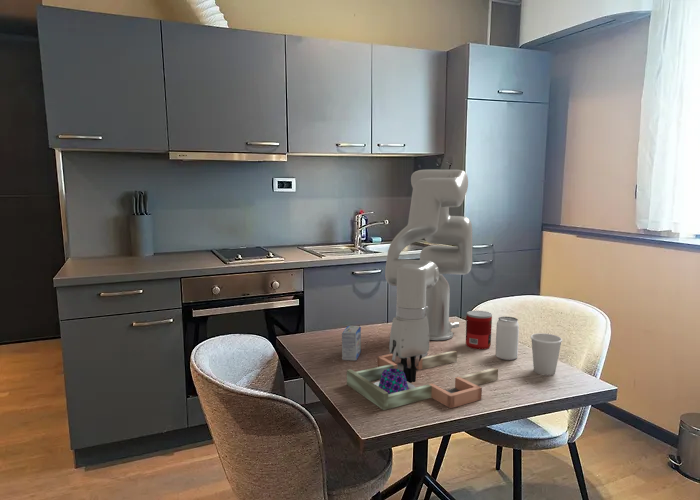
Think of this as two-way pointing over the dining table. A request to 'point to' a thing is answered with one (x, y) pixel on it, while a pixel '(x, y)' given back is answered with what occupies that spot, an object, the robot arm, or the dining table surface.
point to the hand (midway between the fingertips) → (409, 380)
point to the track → (387, 401)
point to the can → (507, 338)
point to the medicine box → (351, 343)
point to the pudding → (393, 381)
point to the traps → (449, 398)
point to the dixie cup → (545, 352)
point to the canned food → (478, 329)
